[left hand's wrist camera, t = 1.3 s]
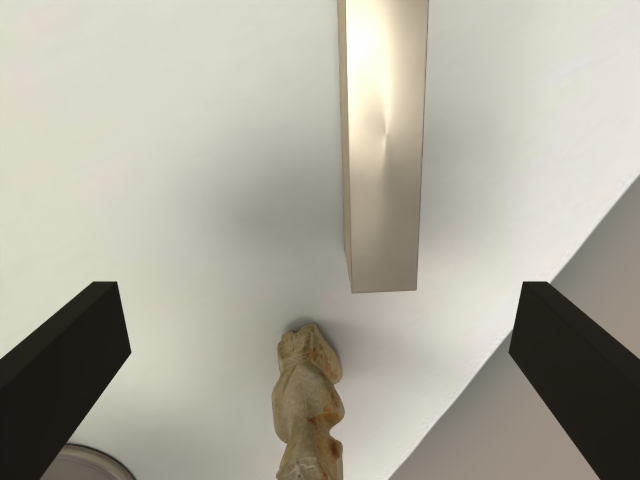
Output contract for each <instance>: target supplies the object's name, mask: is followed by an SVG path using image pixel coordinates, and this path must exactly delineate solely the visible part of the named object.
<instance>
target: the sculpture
mask: <svg viewBox="0 0 640 480" xmlns="http://www.w3.org/2000/svg"><path fill="white" fill-rule="evenodd" d="M277 349H278V362H279V369H280V373H281V376H280V378H279V380H278V381H277V383H276V385H275V387H274V389H273V392H272V407H273V417H274V426H275V430H276V433H277V435H278V437H279V438H280V439H281V440H282V441H283V442H285V443H288V444H287V447H286V449H285V452H284V455H283V458H282V461H281V463H280V469H279V471H278V472H277V474H276V478H277V479H278V480H343V462H342V452H343V446H342V443H341V442H340V441H338V440H335V439H334V438H333V437H332V436H330V434H329V431H330V429H331V428H332V427H333V426H334V425H336V424H337V423H338V422H340V421H341V420H342V419H343V417H344V413H345V411H344V407H343V404H342V401H341V399H340V397H339V395H338V393H337V391H336V390H335V388H334V384H336V383H338V382H339V381H340V379H341V377H342V366H341V363H340V360H339V358H338V357H337V355H336V354H335V352H334V351H333V350H332V348H331V347H330V346H329V344H328V343H327V342H326V341H325V340H324V339H323V337H322V336H321V334H320V332H319V331H318V328H317V326H316V325H315V324H314V323H310V324H307V325H304V326H302V327H301V329H300V330H299V331H298V332H297V333H296V332H294V331H289V332H287V333H285V334H284V335H282V341H281V342H279V344H278V348H277Z"/></svg>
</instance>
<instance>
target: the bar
mask: <svg viewBox="0 0 640 480" xmlns="http://www.w3.org/2000/svg"><path fill="white" fill-rule="evenodd" d="M337 1H338V36H339V71H340V105H341V140H342V175H343V210H344V245H345V255H346V261H347V267H348V273H349V279H350V285H351V291H352V293H369V292H392V291H414V290H417V270H418V246H419V222H420V199H421V175H422V152H423V128H424V105H425V81H426V58H427V34H428V10H429V0H337Z"/></svg>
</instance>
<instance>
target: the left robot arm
mask: <svg viewBox="0 0 640 480" xmlns="http://www.w3.org/2000/svg"><path fill="white" fill-rule="evenodd" d="M130 354H131V348H130V343H129V338H128V333H127V328H126V323H125V318H124V314H123V309H122V304H121V299H120V294H119V289H118V284H117V282H92V283H91V284H90V285H89V286H87V287H86V288H85V289H84V290H83V291H81V292H80V293H79V294H78V295H77V296H75V297H74V298H73V299H72V300H71V301H69V302H68V303H67V304H66V305H65V306H63V307H62V308H61V309H60V310H59V311H57V312H56V313H55V314H54V315H53V316H52V317H50V318H49V319H48V320H47V321H46V322H44V323H43V324H42V325H41V326H40V327H38V328H37V329H36V330H35V331H34V332H32V333H31V334H30V335H29V336H28V337H26V338H25V339H24V340H23V341H22V342H20V343H19V344H18V345H17V346H16V347H14V348H13V349H12V350H11V351H10V352H9V353H7V354H6V355H5V356H4V357H3V358H1V359H0V480H134V479H133V478H132V476H131V475H130V474H129V473H128V471H127V470H126V469H124V468H123V467H122V466H121V465H120V464H119V463H117V462H116V461H114V460H113V459H111V458H109V457H108V456H106V455H104V454H102V453H99V452H97V451H94V450H91V449H88V448H84V447H80V446H74V445H65V444H66V443H67V441H68V440H69V438H70V437H71V436H72V434H73V433H74V431H75V430H76V429H77V427H78V426H79V425H80V423H81V422H82V420H83V419H84V418H85V416H86V415H87V414H88V412H89V411H90V409H91V408H92V407H93V405H94V404H95V402H96V401H97V400H98V398H99V397H100V396H101V394H102V393H103V391H104V390H105V389H106V387H107V386H108V384H109V383H110V382H111V380H112V379H113V378H114V376H115V375H116V373H117V372H118V371H119V369H120V368H121V366H122V365H123V364H124V362H125V361H126V360H127V358H128V357H129V355H130ZM509 354H510V355H511V357H512V358H513V360H514V361H515V362H516V364H517V365H518V366H519V368H520V369H521V371H522V372H523V373H524V375H525V376H526V378H527V379H528V380H529V382H530V383H531V384H532V386H533V387H534V389H535V390H536V391H537V393H538V394H539V396H540V397H541V398H542V400H543V401H544V402H545V404H546V405H547V407H548V408H549V409H550V411H551V412H552V413H553V415H554V416H555V418H556V419H557V420H558V422H559V423H560V425H561V426H562V427H563V429H564V430H565V431H566V433H567V434H568V436H569V437H570V438H571V440H572V441H573V443H574V444H575V445H576V447H577V448H578V449H579V451H580V452H581V454H582V455H583V456H584V458H585V459H586V461H587V462H588V463H589V465H590V466H591V467H592V469H593V470H594V472H595V473H596V474H597V476H598V477H599V479H600V480H640V359H639V358H637V357H636V356H635V355H634V354H633V353H631V352H630V351H629V350H628V349H627V348H626V347H624V346H623V345H622V344H621V343H620V342H618V341H617V340H616V339H615V338H614V337H612V336H611V335H610V334H609V333H608V332H606V331H605V330H604V329H603V328H602V327H600V326H599V325H598V324H597V323H596V322H594V321H593V320H592V319H591V318H590V317H588V316H587V315H586V314H585V313H584V312H582V311H581V310H580V309H579V308H578V307H577V306H575V305H574V304H573V303H572V302H571V301H569V300H568V299H567V298H566V297H565V296H563V295H562V294H561V293H560V292H559V291H557V290H556V289H555V288H554V287H553V286H551V285H550V284H549V283H548V282H523V284H522V289H521V294H520V299H519V304H518V309H517V314H516V318H515V323H514V328H513V333H512V338H511V343H510V348H509Z"/></svg>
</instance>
